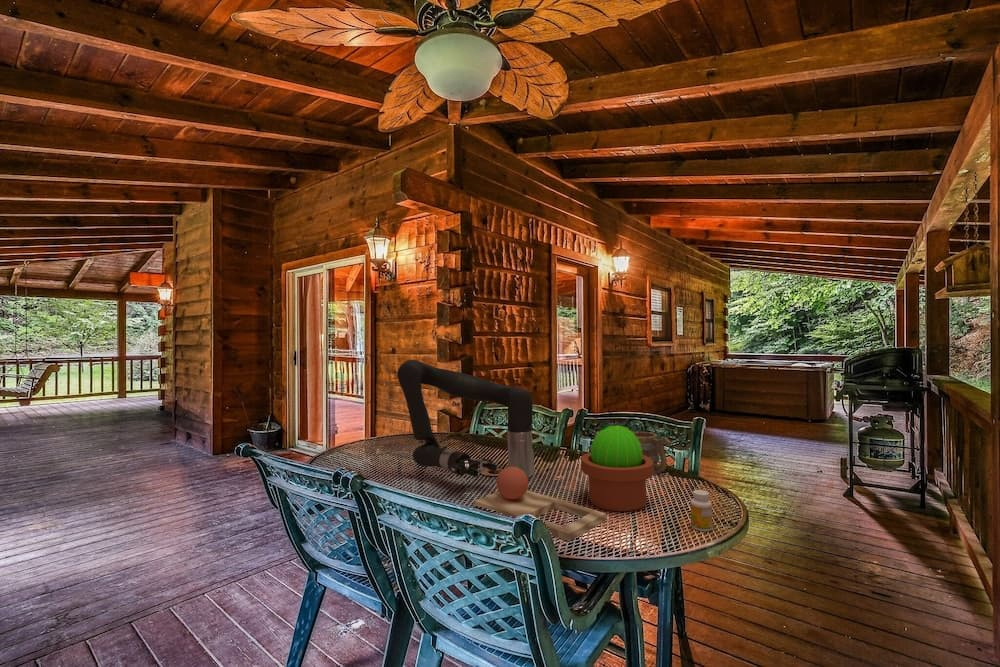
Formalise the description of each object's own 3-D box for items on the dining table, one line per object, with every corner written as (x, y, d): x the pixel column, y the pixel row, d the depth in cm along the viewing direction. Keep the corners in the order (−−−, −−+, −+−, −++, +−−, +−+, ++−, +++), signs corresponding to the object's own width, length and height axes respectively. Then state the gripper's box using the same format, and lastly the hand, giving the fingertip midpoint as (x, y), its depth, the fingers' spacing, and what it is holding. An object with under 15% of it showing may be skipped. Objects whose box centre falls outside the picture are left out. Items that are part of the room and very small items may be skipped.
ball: (511, 491, 153) (511, 460, 153) (535, 498, 146) (534, 466, 146) (490, 499, 146) (489, 467, 146) (513, 507, 139) (513, 473, 139)
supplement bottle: (687, 524, 129) (686, 489, 129) (705, 523, 130) (705, 488, 130) (697, 532, 124) (696, 496, 124) (716, 531, 124) (715, 495, 124)
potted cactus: (667, 512, 138) (665, 428, 138) (597, 518, 135) (595, 432, 134) (634, 488, 160) (632, 415, 160) (573, 492, 156) (571, 418, 156)
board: (513, 491, 158) (513, 486, 158) (606, 520, 133) (605, 513, 133) (474, 506, 145) (474, 500, 145) (569, 541, 120) (569, 533, 120)
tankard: (620, 468, 183) (619, 430, 183) (645, 464, 188) (644, 427, 188) (655, 482, 165) (654, 440, 165) (682, 477, 170) (681, 437, 170)
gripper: (439, 454, 160) (470, 463, 148) (469, 447, 170) (501, 455, 159) (439, 476, 160) (471, 487, 148) (469, 467, 170) (501, 477, 159)
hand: (486, 470), depth 154 cm, fingers open, 8 cm apart
